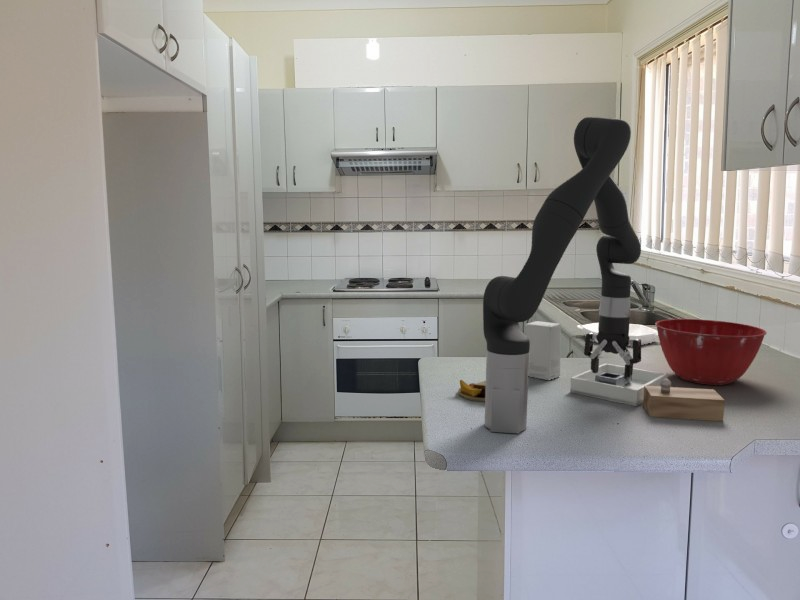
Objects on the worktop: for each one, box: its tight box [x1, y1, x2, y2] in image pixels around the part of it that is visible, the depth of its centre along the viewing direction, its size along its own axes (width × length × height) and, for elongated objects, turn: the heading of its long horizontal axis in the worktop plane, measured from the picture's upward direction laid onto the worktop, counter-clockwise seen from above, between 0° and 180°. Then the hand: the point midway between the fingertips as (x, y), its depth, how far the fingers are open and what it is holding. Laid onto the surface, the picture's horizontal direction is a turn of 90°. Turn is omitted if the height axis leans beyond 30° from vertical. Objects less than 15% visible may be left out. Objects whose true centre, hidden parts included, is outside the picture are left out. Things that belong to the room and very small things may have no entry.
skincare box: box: [524, 320, 562, 381], centre depth 188 cm, size 8×7×16 cm
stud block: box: [642, 379, 726, 422], centre depth 156 cm, size 9×16×8 cm, turn 79°
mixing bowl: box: [655, 318, 767, 386], centre depth 187 cm, size 28×28×15 cm
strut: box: [595, 372, 632, 387], centre depth 175 cm, size 6×16×4 cm, turn 139°
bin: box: [569, 362, 669, 407], centre depth 175 cm, size 22×18×4 cm
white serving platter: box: [576, 322, 659, 347], centre depth 243 cm, size 31×25×4 cm
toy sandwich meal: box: [457, 379, 486, 402], centre depth 169 cm, size 12×14×5 cm
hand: (610, 375), depth 170 cm, fingers open, 8 cm apart
